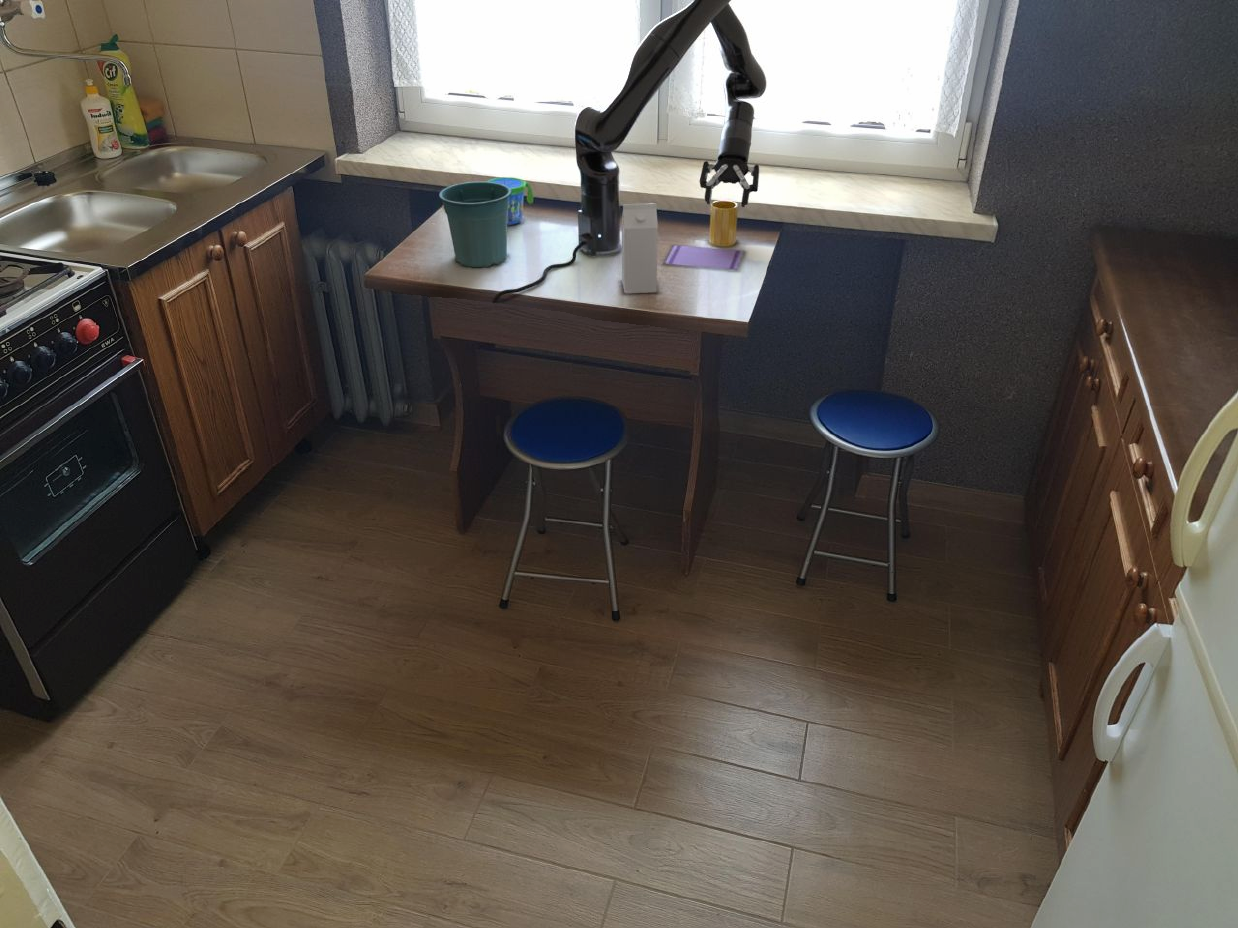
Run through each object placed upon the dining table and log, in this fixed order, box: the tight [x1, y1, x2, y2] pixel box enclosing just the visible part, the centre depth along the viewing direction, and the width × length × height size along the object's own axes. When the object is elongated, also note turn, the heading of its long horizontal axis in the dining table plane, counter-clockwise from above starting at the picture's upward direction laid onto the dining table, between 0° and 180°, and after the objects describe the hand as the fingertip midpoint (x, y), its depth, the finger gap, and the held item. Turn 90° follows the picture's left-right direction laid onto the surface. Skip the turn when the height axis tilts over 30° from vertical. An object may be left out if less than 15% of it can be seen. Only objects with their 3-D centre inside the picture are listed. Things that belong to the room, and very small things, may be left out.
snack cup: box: [485, 176, 534, 227], centre depth 246 cm, size 16×10×10 cm
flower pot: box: [438, 181, 511, 268], centre depth 224 cm, size 16×16×16 cm
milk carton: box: [621, 202, 659, 294], centre depth 208 cm, size 7×7×19 cm
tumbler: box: [708, 199, 739, 247], centre depth 234 cm, size 6×6×10 cm
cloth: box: [664, 244, 744, 271], centre depth 228 cm, size 17×12×1 cm
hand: (725, 204), depth 233 cm, fingers open, 8 cm apart
